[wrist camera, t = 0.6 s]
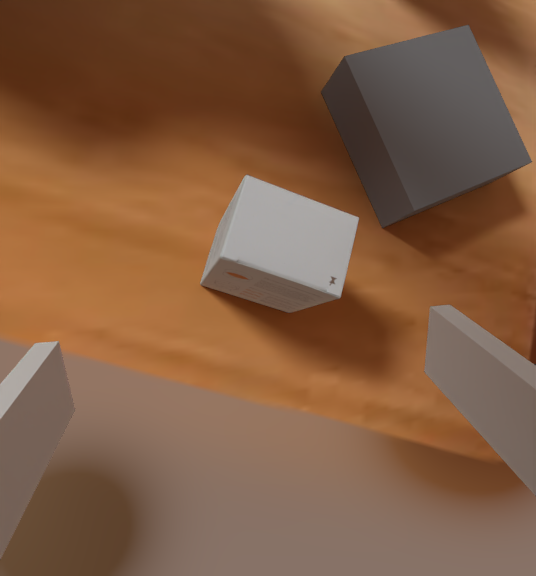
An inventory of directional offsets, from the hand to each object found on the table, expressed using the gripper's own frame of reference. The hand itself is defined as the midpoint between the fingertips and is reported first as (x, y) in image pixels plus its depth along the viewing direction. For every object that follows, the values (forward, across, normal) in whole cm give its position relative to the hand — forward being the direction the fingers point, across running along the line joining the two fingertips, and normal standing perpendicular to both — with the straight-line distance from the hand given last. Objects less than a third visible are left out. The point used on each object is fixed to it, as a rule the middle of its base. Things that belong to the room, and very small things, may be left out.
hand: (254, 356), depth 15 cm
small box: (+21, +2, -3) cm, 21 cm away
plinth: (+29, +18, +6) cm, 35 cm away
